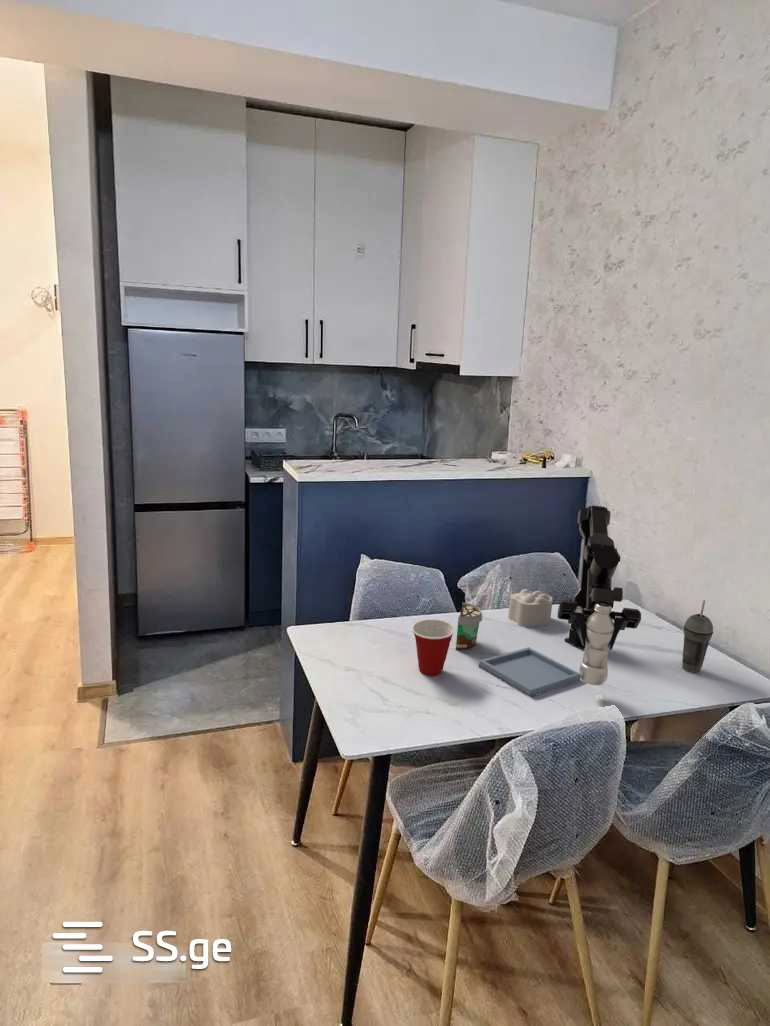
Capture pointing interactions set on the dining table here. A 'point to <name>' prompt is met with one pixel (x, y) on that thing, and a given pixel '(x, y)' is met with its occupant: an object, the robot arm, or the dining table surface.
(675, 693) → the dining table surface
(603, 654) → the plastic bottle
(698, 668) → the beverage cup
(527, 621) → the beige lumpy box
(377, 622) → the dining table surface
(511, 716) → the dining table surface
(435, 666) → the plastic cup
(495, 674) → the blue-gray tray
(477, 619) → the food container
